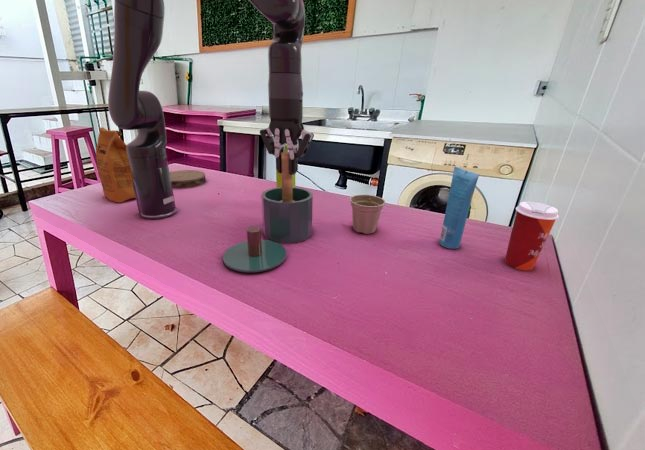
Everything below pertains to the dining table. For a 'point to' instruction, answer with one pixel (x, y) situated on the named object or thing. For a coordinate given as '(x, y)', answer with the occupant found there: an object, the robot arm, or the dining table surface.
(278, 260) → the lid
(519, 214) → the paper cup
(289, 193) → the wooden pestle
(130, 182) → the coffee package
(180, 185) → the brown round disc
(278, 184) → the soap dispenser
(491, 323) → the dining table surface
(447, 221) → the tube
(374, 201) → the flower pot
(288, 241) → the canister
